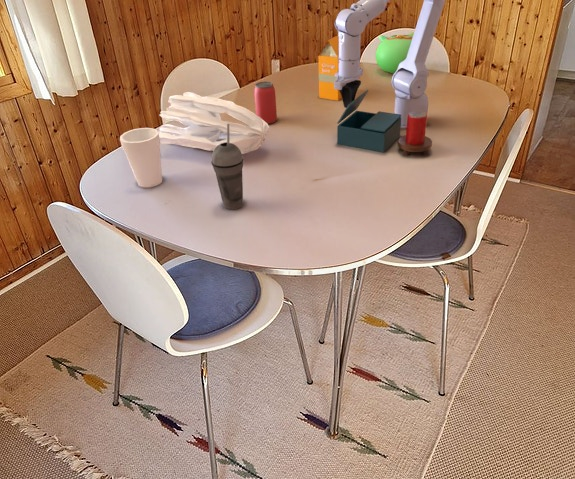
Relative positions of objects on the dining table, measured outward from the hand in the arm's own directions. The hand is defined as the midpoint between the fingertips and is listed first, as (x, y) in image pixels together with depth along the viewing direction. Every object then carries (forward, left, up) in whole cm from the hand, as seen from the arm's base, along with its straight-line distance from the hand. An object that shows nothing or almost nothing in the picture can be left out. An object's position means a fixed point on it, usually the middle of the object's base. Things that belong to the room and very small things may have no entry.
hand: (348, 107), depth 141 cm
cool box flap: (-1, +1, 0) cm, 2 cm away
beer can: (+20, -22, -9) cm, 31 cm away
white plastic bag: (+40, -6, -9) cm, 41 cm away
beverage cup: (+39, +27, -9) cm, 48 cm away
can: (-13, +16, -6) cm, 22 cm away
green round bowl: (-40, -53, -9) cm, 67 cm away
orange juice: (-8, -37, -9) cm, 39 cm away
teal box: (-5, +5, -9) cm, 11 cm away
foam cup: (+58, +8, -9) cm, 59 cm away
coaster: (-13, +16, -9) cm, 23 cm away
